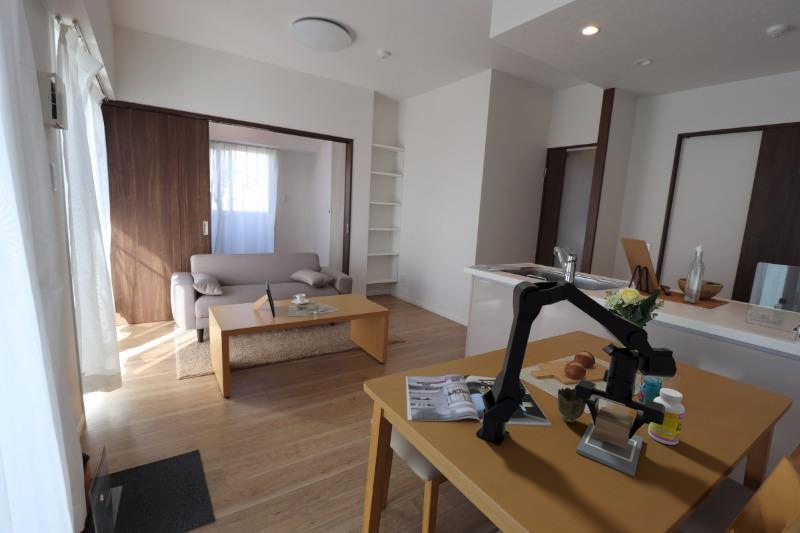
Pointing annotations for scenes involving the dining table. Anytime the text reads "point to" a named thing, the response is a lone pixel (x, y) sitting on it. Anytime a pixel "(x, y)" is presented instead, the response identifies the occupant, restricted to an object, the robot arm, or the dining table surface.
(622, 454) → the slate board
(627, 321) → the robot arm
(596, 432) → the walnut block
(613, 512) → the dining table surface
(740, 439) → the dining table surface
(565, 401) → the cup
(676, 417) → the supplement bottle
